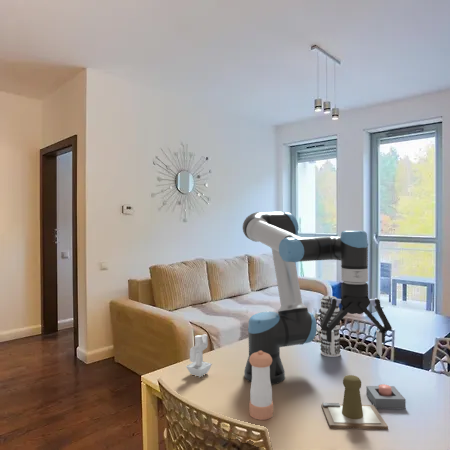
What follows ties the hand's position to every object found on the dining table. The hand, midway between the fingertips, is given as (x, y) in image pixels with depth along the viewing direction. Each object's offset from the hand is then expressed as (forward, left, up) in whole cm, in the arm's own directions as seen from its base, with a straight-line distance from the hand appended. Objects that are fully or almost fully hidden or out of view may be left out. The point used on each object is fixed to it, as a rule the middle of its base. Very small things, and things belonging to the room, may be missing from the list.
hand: (355, 353), depth 109 cm
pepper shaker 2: (-1, -1, -18) cm, 18 cm away
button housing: (+12, +9, -19) cm, 24 cm away
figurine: (-51, +28, -19) cm, 61 cm away
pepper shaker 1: (-28, 0, -19) cm, 34 cm away
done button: (+12, +9, -16) cm, 22 cm away
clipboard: (-1, -1, -19) cm, 19 cm away
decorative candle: (+4, +52, -19) cm, 56 cm away
